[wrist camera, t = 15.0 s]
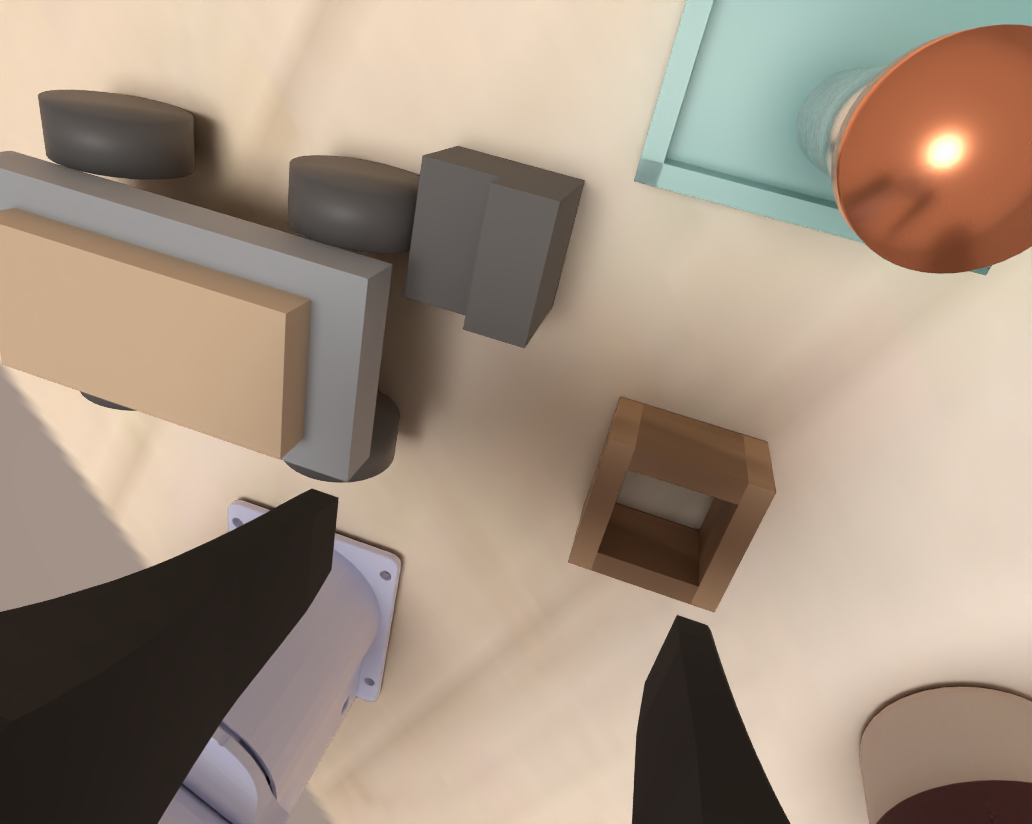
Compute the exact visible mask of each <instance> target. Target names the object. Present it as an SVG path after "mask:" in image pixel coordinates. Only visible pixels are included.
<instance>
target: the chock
mask: <svg viewBox="0 0 1032 824" xmlns="http://www.w3.org/2000/svg"><path fill="white" fill-rule="evenodd" d="M584 181H585V180H581V179H578V178H574V177H570V176H567V175H563V174H559V173H555V172H552V171H548V170H544V169H541V168H537V167H533V166H530V165H526V164H522V163H519V162H515V161H511V160H507V159H504V158H500V157H496V156H493V155H489V154H485V153H482V152H478V151H474V150H470V149H467V148H463V147H459V146H456V147H453V148H449V149H445V150H442V151H438V152H434V153H431V154H427V155H423V157H422V164H421V172H420V179H419V187H418V194H417V201H416V209H415V216H414V224H413V231H412V239H411V246H410V254H409V261H408V269H407V276H406V284H405V291H404V297H406V298H409V299H413V300H416V301H419V302H423V303H426V304H429V305H433V306H436V307H439V308H443V309H446V310H449V311H452V312H456V313H459V314H462V315H466V316H465V321H464V327H463V329H464V330H467V331H470V332H473V333H477V334H480V335H483V336H486V337H490V338H493V339H496V340H500V341H503V342H506V343H509V344H513V345H516V346H519V347H522V348H525V347H526V345H527V344H528V342H529V341H530V339H531V338H532V336H533V335H534V333H535V332H536V330H537V329H538V327H539V326H540V324H541V323H542V321H543V320H544V318H545V317H546V315H547V314H548V312H549V311H550V309H551V308H552V306H553V303H554V299H555V295H556V291H557V287H558V283H559V279H560V275H561V271H562V268H563V264H564V260H565V256H566V252H567V248H568V244H569V240H570V236H571V232H572V228H573V224H574V220H575V216H576V213H577V209H578V205H579V201H580V197H581V193H582V189H583V185H584Z"/></svg>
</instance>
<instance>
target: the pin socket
mask: <svg viewBox="0 0 1032 824" xmlns="http://www.w3.org/2000/svg"><path fill="white" fill-rule="evenodd" d="M627 469H629V470H632V471H635V472H638V473H641V474H644V475H647V476H650V477H654V478H657V479H660V480H663V481H666V482H669V483H672V484H675V485H678V486H682V487H685V488H688V489H691V490H694V491H697V492H700V493H703V494H706V495H709V496H713V497H715V498H714V500H713V502H712V505H711V507H710V509H709V511H708V513H707V516H706V518H705V520H704V522H703V524H702V527H701V529H700V531H698V530H695V529H692V528H689V527H685V526H682V525H679V524H676V523H673V522H670V521H667V520H664V519H661V518H658V517H655V516H652V515H649V514H646V513H643V512H640V511H637V510H634V509H631V508H628V507H625V506H622V505H619V504H616V503H615V502H616V499H617V497H618V494H619V491H620V488H621V486H622V483H623V480H624V477H625V475H626V472H627ZM775 493H776V488H775V483H774V477H773V471H772V465H771V460H770V454H769V448H768V442H765V441H762V440H759V439H756V438H752V437H749V436H746V435H743V434H739V433H736V432H733V431H730V430H726V429H723V428H720V427H717V426H713V425H710V424H707V423H704V422H701V421H697V420H694V419H691V418H688V417H684V416H681V415H678V414H675V413H671V412H668V411H665V410H662V409H658V408H655V407H652V406H649V405H646V404H642V403H639V402H636V401H633V400H629V399H626V398H623V397H620V400H619V403H618V406H617V409H616V412H615V415H614V418H613V421H612V424H611V427H610V430H609V433H608V436H607V439H606V442H605V445H604V448H603V451H602V454H601V457H600V460H599V463H598V466H597V469H596V472H595V475H594V478H593V481H592V484H591V487H590V490H589V493H588V496H587V499H586V501H585V504H584V507H583V510H582V514H581V517H580V521H579V525H578V528H577V532H576V535H575V539H574V542H573V546H572V550H571V553H570V557H569V560H568V562H569V563H572V564H575V565H577V566H580V567H583V568H586V569H589V570H592V571H595V572H598V573H601V574H604V575H607V576H610V577H612V578H615V579H618V580H621V581H624V582H627V583H630V584H633V585H636V586H639V587H642V588H644V589H647V590H650V591H653V592H656V593H659V594H662V595H665V596H668V597H671V598H674V599H677V600H679V601H682V602H685V603H688V604H691V605H694V606H697V607H700V608H703V609H706V610H709V611H712V612H715V610H716V608H717V606H718V605H719V603H720V601H721V599H722V597H723V595H724V593H725V591H726V589H727V587H728V585H729V583H730V581H731V579H732V577H733V575H734V573H735V571H736V569H737V567H738V566H739V564H740V562H741V560H742V558H743V556H744V554H745V552H746V550H747V548H748V546H749V544H750V542H751V540H752V538H753V536H754V534H755V532H756V530H757V528H758V527H759V525H760V523H761V521H762V519H763V517H764V515H765V513H766V511H767V509H768V507H769V505H770V503H771V501H772V499H773V497H774V495H775Z"/></svg>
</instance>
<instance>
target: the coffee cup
mask: <svg viewBox="0 0 1032 824" xmlns="http://www.w3.org/2000/svg"><path fill="white" fill-rule="evenodd" d="M859 754H860V765H861V772H862V778H863V785H864V792H865V799H866V805H867V812H868V819H869V824H1032V701H1029V700H1027V699H1025V698H1022V697H1019V696H1016V695H1013V694H1010V693H1006V692H1002V691H997V690H993V689H986V688H978V687H943V688H937V689H931V690H925V691H922V692H918V693H915V694H912V695H909V696H907V697H904V698H901V699H899V700H897V701H896V702H894V703H892V704H890V705H889V706H887V707H885V708H884V709H883V710H882V711H881V712H879V713H878V714H877V715H876V716H875V717H874V718H873V719H872V720H871V722H870V723H869V724H868V726H867V727H866V729H865V731H864V734H863V736H862V739H861V744H860V753H859Z"/></svg>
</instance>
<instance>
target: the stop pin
mask: <svg viewBox="0 0 1032 824" xmlns="http://www.w3.org/2000/svg"><path fill="white" fill-rule="evenodd" d="M797 138H798V143H799V146H800V148H801V150H802V152H803V154H804V155H805V156H806V158H807V159H808V160H809V161H810V162H812V163H813V164H814V165H815V166H817V167H818V168H819V169H820V170H822V171H823V172H824V173H825V174H827V175H828V176H829V177H830V178H831V179H832V187H833V193H834V197H835V200H836V203H837V206H838V209H839V211H840V213H841V214H842V216H843V218H844V220H845V221H846V223H847V224H848V225H849V227H850V228H851V229H852V230H853V232H854V233H855V234H856V235H857V236H858V237H859V238H860V239H861V240H862V241H863V242H864V243H865V244H866V245H867V246H868V247H869V248H870V249H871V250H873V251H874V252H875V253H877V254H878V255H879V256H881V257H882V258H884V259H886V260H888V261H890V262H892V263H894V264H896V265H899V266H901V267H904V268H907V269H911V270H915V271H920V272H927V273H958V272H966V271H972V270H976V269H980V268H984V267H988V266H991V265H994V264H996V263H999V262H1002V261H1005V260H1007V259H1009V258H1011V257H1013V256H1015V255H1017V254H1019V253H1021V252H1023V251H1025V250H1026V249H1028V248H1030V247H1031V246H1032V26H1027V25H1013V24H1001V25H993V26H984V27H978V28H973V29H967V30H962V31H958V32H954V33H949V34H945V35H942V36H940V37H937V38H934V39H932V40H929V41H927V42H925V43H923V44H921V45H919V46H917V47H915V48H913V49H911V50H909V51H908V52H906V53H905V54H903V55H901V56H900V57H898V58H897V59H895V60H894V61H893V62H892V63H890V64H889V65H888V66H883V67H866V68H852V69H847V70H843V71H840V72H837V73H835V74H833V75H831V76H829V77H828V78H826V79H825V80H823V81H822V82H821V83H820V84H818V85H817V86H816V87H815V88H814V89H813V90H812V92H811V93H810V94H809V95H808V97H807V98H806V100H805V102H804V103H803V106H802V108H801V110H800V113H799V116H798V121H797Z"/></svg>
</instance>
